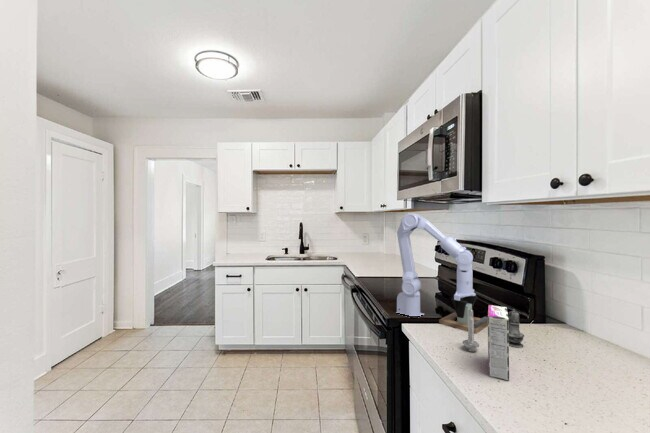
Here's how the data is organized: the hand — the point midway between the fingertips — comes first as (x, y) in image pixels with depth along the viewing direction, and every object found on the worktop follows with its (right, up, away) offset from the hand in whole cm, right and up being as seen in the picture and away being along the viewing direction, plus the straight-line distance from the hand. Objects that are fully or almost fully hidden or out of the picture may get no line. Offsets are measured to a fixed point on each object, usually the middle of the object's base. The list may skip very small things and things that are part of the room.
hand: (464, 315), depth 117 cm
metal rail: (+4, -2, -4) cm, 6 cm away
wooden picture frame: (0, -4, 0) cm, 3 cm away
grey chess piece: (+8, -4, -19) cm, 21 cm away
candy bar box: (-7, -4, -35) cm, 36 cm away
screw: (-9, -4, -23) cm, 25 cm away
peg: (0, -4, 0) cm, 3 cm away
